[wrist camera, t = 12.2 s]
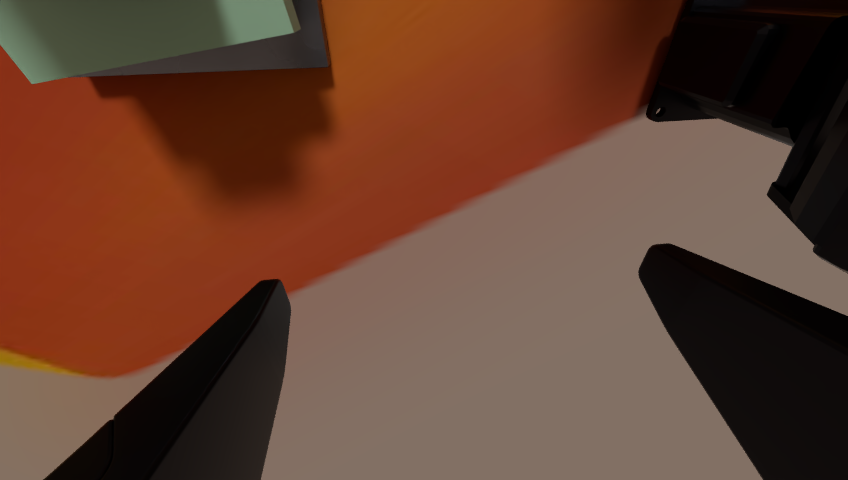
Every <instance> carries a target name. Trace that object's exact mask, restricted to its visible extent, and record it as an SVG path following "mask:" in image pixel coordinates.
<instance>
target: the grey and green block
mask: <svg viewBox="0 0 848 480" xmlns="http://www.w3.org/2000/svg"><path fill="white" fill-rule="evenodd" d="M300 29H301V27H300V24H299V21H298V18H297V15H296V12H295V9H294V6H293V3H292V0H0V45H1V46H2V47H3V49H4V50H5V51H6V52H7V53H8V55H9V56H10V57H11V58H12V60H13V61H14V62H15V63H16V65H17V66H18V67H19V68H20V70H21V71H22V72H23V73H24V75H25V76H26V77H27V78H28V80H29V81H30V82H31V83H32V84H35V83H40V82H45V81H50V80H56V79H61V78H66V77H71V76H76V75H81V74H86V73H91V72H96V71H101V70H107V69H112V68H117V67H122V66H127V65H132V64H137V63H142V62H147V61H153V60H158V59H163V58H168V57H173V56H178V55H183V54H188V53H193V52H199V51H204V50H209V49H214V48H219V47H224V46H229V45H234V44H239V43H245V42H250V41H255V40H260V39H265V38H270V37H275V36H280V35H285V34H291V33H295V32H296V31H298V30H300Z"/></svg>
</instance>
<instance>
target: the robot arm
mask: <svg viewBox="0 0 848 480" xmlns="http://www.w3.org/2000/svg"><path fill="white" fill-rule="evenodd" d="M659 108H660V111H659V112H658V113H657V114H656V112H657V110H658V109H659ZM646 116H647V118H648V119H650V120H652V121H655V122H663V121H682V120H698V119H714V118H715V119H716V118H719V119H722V120H724V121H727V122H730V123H732V124H734V125H737V126H740V127H742V128H745V129H748V130H750V131H753V132H755V133H758V134H761V135H763V136H766V137H769V138H771V139H774V140H776V141H779V142H782V143H785V144H787V145H790V146H792V149H791V151H790V154H789V155H788V158H787V160H786V162H785V164H784V166H783V168H782V170H781V172H780V174H779V176H778V179H777V180H776V182H773V183H772V184H771V187H770V189H769V191H768V193H767V196H768V197H769V198H770V199H771V200H772V201H773V202H774V203H775V204H776V205H777V206H778V208H779V209H780V210H781V211H782V212H783V213H784V214H785V215H786V216H787V217H788V218H789V219H790V220H791V221H792V222H793V223H794V224H795V225H796V226H797V228H798V229H800V231H801V232H802V233H803V234H804V235H805V236H806V237H807V238H808V239H809V240H810V241H811V242H812V243H813V244H814V245H815V246H814V248H813V252H814V253H815V254H816V255H817V256H819V257H820V258H821V259H822V260H824V261H826V262H828V263H830V264H831V265H833V266H835V267H837V268H839V269H840V270H842V271H844V272H846V273H848V0H687V2H686V5H685V8H684V10H683V13H682V16H681V18H680V21H679V24H678V27H677V29H676V32H675V35H674V37H673V40H672V43H671V46H670V48H669V51H668V54H667V56H666V59H665V62H664V65H663V67H662V70H661V73H660V76H659V78H658V81H657V84H656V86H655V89H654V92H653V95H652V97H651V100H650V103H649V105H648V108H647V111H646ZM638 273H639V278H640V280H641V282H642V284H643V286H644V288H645V290H646V292H647V294H648V296H649V298H650V300H651V302H652V304H653V306H654V308H655V310H656V311H657V313H658V315H659V317H660V319H661V321H662V323H663V325H664V327H665V328H666V330H667V332H668V334H669V335H670V337H671V338H672V340H673V341H674V343H675V345H676V346H677V348H678V349H679V351H680V352H681V354H682V356H683V357H684V358H685V360H686V361H687V363H688V365H689V366H690V368H691V369H692V371H693V372H694V374H695V376H696V377H697V379H698V380H699V382H700V383H701V385H702V386H703V388H704V389H705V391H706V393H707V394H708V396H709V397H710V399H711V400H712V402H713V403H714V405H715V406H716V408H717V409H718V411H719V412H720V414H721V415H722V417H723V419H724V420H725V422H726V423H727V425H728V426H729V428H730V429H731V431H732V433H733V434H734V436H735V437H736V439H737V440H738V442H739V443H740V445H741V446H742V448H743V450H744V451H745V453H746V454H747V456H748V457H749V459H750V460H751V462H752V463H753V465H754V466H755V468H756V470H757V471H758V473H759V474H760V476H761V477H762V479H763V480H848V316H846V315H844V314H841V313H839V312H836V311H834V310H831V309H829V308H827V307H824V306H822V305H819V304H817V303H814V302H812V301H809V300H807V299H805V298H802V297H800V296H797V295H795V294H792V293H790V292H787V291H785V290H783V289H780V288H778V287H775V286H773V285H770V284H768V283H765V282H763V281H761V280H758V279H756V278H753V277H751V276H748V275H746V274H744V273H741V272H738V271H736V270H734V269H731V268H729V267H726V266H724V265H722V264H719V263H717V262H714V261H712V260H709V259H707V258H704V257H702V256H700V255H697V254H694V253H692V252H690V251H687V250H685V249H683V248H680V247H678V246H675V245H672V244H656V245H652V246H651V247H650V248H649V249H648V251H647V253H646V255H645V257H644V259H643V262H642V264H641V266H640V268H639V272H638ZM290 316H291V306H290V302H289V299H288V297H287V294H286V291H285V289H284V286H283V283H282V282H281V280H279V279H270V280H262V281H260V282H259V283H257V284H256V285H255V286H254V287H253V288H252V289H251V290H250V291H249V292H248V293H246V294H245V295H244V296H243V297H242V298H241V299H240V300H239V301H238V302H237V303H236V304H235V305H234V306H232V307H231V308H230V309H229V310H228V311H227V312H226V313H225V314H224V315H223V316H222V317H221V318H219V319H218V320H217V321H216V322H215V323H214V324H213V325H212V326H211V327H210V328H209V329H208V330H206V331H205V332H204V333H203V334H202V335H201V336H200V337H199V338H198V339H197V340H196V341H195V342H193V343H192V344H191V345H190V346H189V347H188V348H187V349H186V350H185V351H184V352H183V353H182V354H180V355H179V356H178V357H177V358H176V359H175V360H174V361H173V362H172V363H171V364H170V365H169V366H168V367H166V368H165V369H164V370H163V371H162V372H161V373H160V374H159V375H158V376H157V377H156V378H155V379H153V380H152V381H151V382H150V383H149V384H148V385H147V386H146V387H145V388H144V389H143V390H142V391H140V393H138V394H137V395H136V396H135V397H134V398H133V399H132V400H131V401H130V402H129V403H128V404H126V405H125V406H124V407H123V408H122V409H121V410H120V411H119V412H118V413H117V414H116V415H115V416H114V420H109V421H108V422H107V423H106V424H105V425H104V426H102V427H101V428H100V429H99V430H98V431H97V432H96V433H95V434H94V435H93V436H92V437H90V438H89V439H88V440H87V441H86V442H85V443H84V444H83V445H82V446H81V447H79V448H78V449H77V450H76V451H75V452H74V453H73V454H72V455H70V457H68V458H67V459H66V460H65V461H64V462H63V463H62V464H60V465H59V466H58V467H57V468H56V469H55V470H54V471H53V472H52V473H50V474H49V475H48V476H47V477H46V478H45V479H43V480H261V475H262V471H263V466H264V462H265V458H266V454H267V449H268V445H269V440H270V436H271V431H272V427H273V423H274V418H275V414H276V410H277V405H278V401H279V396H280V391H281V388H282V383H283V377H284V372H285V364H286V355H287V345H288V335H289V326H290Z"/></svg>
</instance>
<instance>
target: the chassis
mask: <svg viewBox="0 0 848 480" xmlns="http://www.w3.org/2000/svg"><path fill="white" fill-rule="evenodd" d="M292 3H293V6H294V9H295V12H296V15H297V18H298V21H299V24H300V27H301V29H300V30H298V31H296V32H295V33H291V34H285V35H280V36H275V37H270V38H265V39H260V40H255V41H250V42H245V43H239V44H234V45H229V46H224V47H219V48H214V49H209V50H204V51H199V52H193V53H188V54H183V55H178V56H173V57H168V58H163V59H158V60H153V61H147V62H142V63H137V64H132V65H127V66H122V67H117V68H112V69H107V70H101V71H96V72H91V73H86V74H81V75H76V76H71V77H90V76H115V75H140V74H165V73H191V72H216V71H241V70H266V69H292V68H317V67H329V65H330V63H331V61H330V55H329V49H328V43H327V36H326V30H325V24H324V18H323V12H322V6H321V0H292Z"/></svg>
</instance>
